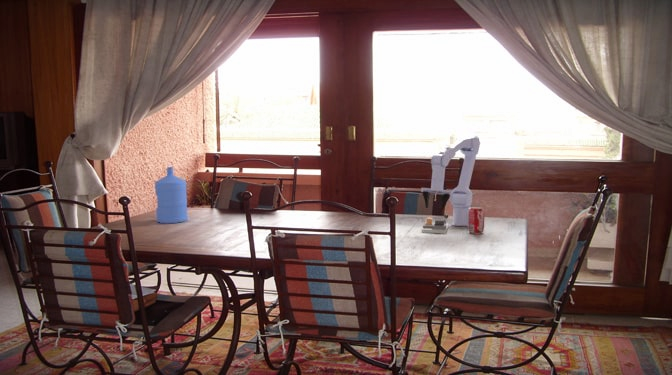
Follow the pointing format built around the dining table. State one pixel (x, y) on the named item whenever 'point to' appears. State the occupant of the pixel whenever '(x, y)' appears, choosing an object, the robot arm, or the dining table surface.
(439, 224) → the button
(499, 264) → the dining table surface
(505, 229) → the dining table surface
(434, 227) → the panel
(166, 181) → the water jug
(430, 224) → the orange flat-faced block
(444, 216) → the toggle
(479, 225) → the soda can
